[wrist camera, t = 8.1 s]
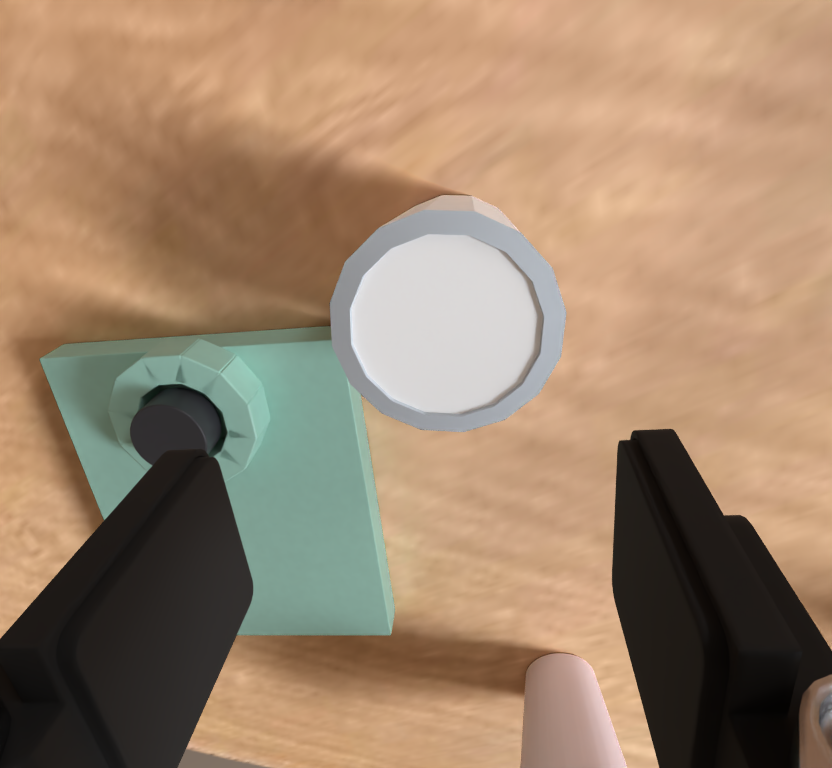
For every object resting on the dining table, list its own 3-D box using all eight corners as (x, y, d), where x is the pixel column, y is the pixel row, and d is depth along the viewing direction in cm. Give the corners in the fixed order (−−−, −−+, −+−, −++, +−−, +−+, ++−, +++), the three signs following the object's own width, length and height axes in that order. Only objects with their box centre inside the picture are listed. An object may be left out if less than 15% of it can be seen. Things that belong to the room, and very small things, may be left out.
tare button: (139, 388, 24) (118, 407, 22) (212, 384, 23) (194, 402, 22) (161, 453, 25) (142, 474, 24) (230, 450, 25) (215, 472, 23)
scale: (59, 334, 26) (3, 366, 23) (348, 313, 25) (329, 345, 22) (164, 611, 33) (132, 664, 30) (395, 609, 32) (386, 666, 29)
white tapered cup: (333, 240, 24) (280, 293, 17) (485, 137, 21) (488, 155, 15) (427, 377, 26) (411, 468, 19) (574, 296, 24) (609, 369, 17)
